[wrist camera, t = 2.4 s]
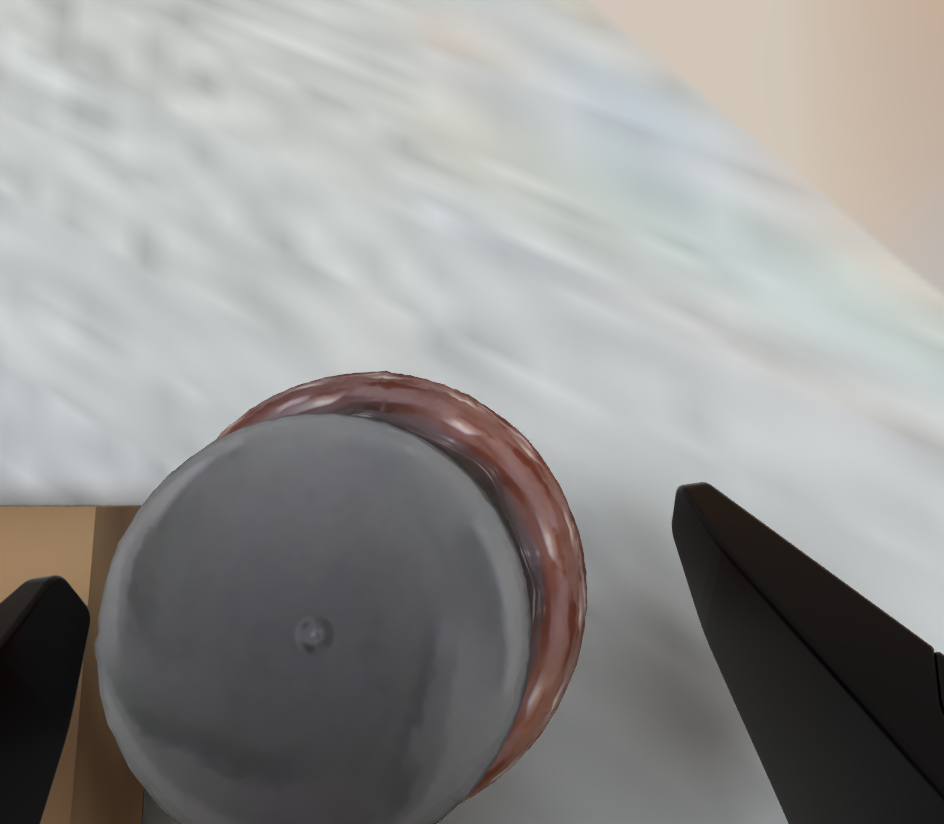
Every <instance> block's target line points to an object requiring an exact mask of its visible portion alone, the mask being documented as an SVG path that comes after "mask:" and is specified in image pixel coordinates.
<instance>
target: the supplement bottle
mask: <svg viewBox="0 0 944 824" xmlns="http://www.w3.org/2000/svg"><path fill="white" fill-rule="evenodd" d="M586 610H587V585H586V569H585V564H584V554H583V549H582V544H581V539H580V535H579V531H578V528H577V526H576V523H575V519H574V517H573V515H572V513H571V511H570V508H569V505H568V503H567V500H566V498H565V496H564V493H563V491H562V489H561V487H560V485H559V483H558V482H557V480H556V479H555V477H554V476H553V474H552V472H551V471H550V469H549V468H548V466H547V465H546V463H545V462H544V460H543V458H542V457H541V456H540V454H539V453H538V452H537V450H536V449H535V448H534V447H533V446H532V444H531V443H530V442H529V440H528V439H527V438H526V437H524V436H523V435H522V434H521V433H520V432H519V431H518V430H517V429H516V428H515V427H513V426H512V425H511V424H510V423H509V422H508V421H507V420H505V419H504V418H502V417H501V416H499V415H498V414H496V413H495V412H494V411H492V410H491V409H489V408H488V407H487V406H485V405H483V404H481V403H480V402H478V401H477V400H476V399H475V398H473V397H471V396H470V395H467V394H464V393H462V392H460V391H458V390H456V389H452V388H450V387H448V386H446V385H444V384H440V383H436V382H432V381H429V380H427V379H423V378H418V377H414V376H411V375H403V374H396V373H390V372H388V371H381V372H367V373H353V374H343V375H337V376H331V377H325V378H322V379H319V380H315V381H311V382H308V383H304V384H301V385H298V386H295V387H292V388H290V389H288V390H286V391H284V392H281V393H279V394H276V395H274V396H272V397H270V398H269V399H267V400H265V401H263V402H261V403H260V404H259V405H257V406H256V407H254V408H252V409H250V410H249V411H248V412H247V413H245V414H244V415H243V416H242V417H241V418H239V419H238V420H237V421H236V422H234V423H233V424H231V425H229V426H228V427H227V428H226V429H225V430H224V431H223V432H222V433H221V434H220V435H219V437H218V438H217V439H216V440H215V441H214V442H212V443H211V444H209V445H208V446H206V447H205V448H204V449H202V450H201V451H199V452H198V453H196V454H195V455H193V456H192V457H190V458H189V459H188V460H187V461H185V462H184V463H183V464H182V465H181V466H180V467H178V468H177V469H176V470H175V471H173V472H171V473H170V474H169V475H168V476H167V477H166V478H165V479H164V480H163V482H162V483H161V484H160V485H159V486H158V487H157V488H156V489H155V490H154V491H153V492H152V494H151V495H150V496H149V498H148V499H147V500H146V502H145V503H144V504H143V505H142V506H141V508H140V509H139V510H138V511H137V513H136V515H135V517H134V519H133V520H132V522H131V524H130V525H129V527H128V529H127V530H126V532H125V533H124V535H123V537H122V538H121V540H120V541H119V542H118V544H117V548H116V551H115V554H114V556H113V558H112V561H111V564H110V568H109V572H108V575H107V577H106V580H105V585H104V590H103V596H102V601H101V606H100V612H99V617H98V635H97V637H96V640H95V642H94V651H95V656H96V659H97V663H98V678H99V690H100V696H101V700H102V704H103V708H104V712H105V716H106V720H107V724H108V726H109V728H110V730H111V731H112V733H113V735H114V736H115V738H116V741H117V744H118V746H119V749H120V751H121V753H122V755H123V757H124V759H125V761H126V763H127V765H128V767H129V769H130V770H131V772H132V773H133V774H134V776H135V777H136V778H137V779H138V781H139V782H140V783H141V784H142V786H143V787H144V788H145V789H146V791H147V792H148V793H149V795H150V796H151V798H152V799H153V800H154V801H155V803H156V804H157V805H158V806H159V807H160V808H161V810H162V811H163V812H165V813H166V814H167V815H169V816H170V817H171V818H173V819H174V820H175V821H177V822H178V823H180V824H437V823H438V822H439V821H441V820H442V819H443V818H444V817H445V816H446V815H447V814H449V813H450V812H451V811H452V810H453V809H454V808H455V807H456V806H457V805H458V804H460V803H461V802H463V801H465V800H467V799H468V798H470V797H472V796H474V795H475V794H477V793H478V792H480V791H481V790H483V789H484V788H486V787H487V786H489V785H490V784H492V783H493V782H494V781H496V780H497V779H498V778H499V777H500V776H501V775H503V774H504V773H505V772H506V771H507V770H509V769H510V768H511V767H512V766H513V765H514V764H515V763H516V762H517V761H518V760H519V759H520V758H521V757H522V756H523V754H524V753H525V752H526V751H527V750H528V749H529V748H530V747H531V746H532V744H533V743H534V742H535V741H536V740H537V738H538V737H539V736H540V735H541V733H542V732H543V730H544V728H545V727H546V725H547V724H548V722H549V721H550V719H551V717H552V716H553V714H554V713H555V711H556V710H557V708H558V706H559V704H560V701H561V699H562V697H563V695H564V693H565V690H566V688H567V686H568V684H569V681H570V679H571V676H572V674H573V672H574V669H575V667H576V664H577V660H578V656H579V652H580V648H581V643H582V637H583V632H584V627H585V615H586Z"/></svg>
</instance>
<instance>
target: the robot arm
mask: <svg viewBox="0 0 944 824" xmlns="http://www.w3.org/2000/svg"><path fill="white" fill-rule="evenodd" d="M672 533H673V538H674V541H675V544H676V547H677V550H678V554H679V557H680V560H681V563H682V566H683V569H684V573H685V576H686V579H687V582H688V585H689V588H690V591H691V595H692V598H693V601H694V604H695V607H696V610H697V614H698V617H699V620H700V623H701V626H702V628H703V631H704V634H705V636H706V639H707V641H708V644H709V646H710V649H711V651H712V653H713V655H714V657H715V660H716V662H717V664H718V666H719V669H720V671H721V673H722V675H723V678H724V680H725V682H726V684H727V687H728V689H729V691H730V693H731V695H732V698H733V700H734V702H735V704H736V707H737V709H738V711H739V713H740V716H741V718H742V720H743V722H744V724H745V727H746V729H747V731H748V733H749V736H750V738H751V740H752V742H753V745H754V747H755V749H756V751H757V754H758V756H759V758H760V760H761V762H762V765H763V767H764V769H765V771H766V774H767V776H768V778H769V780H770V783H771V785H772V787H773V789H774V792H775V794H776V796H777V798H778V800H779V803H780V805H781V807H782V809H783V812H784V814H785V816H786V818H787V821H788V823H789V824H944V655H943V654H942V653H940V652H935V653H934V649H933V647H932V646H931V645H929V644H928V643H926V642H925V641H924V640H922V639H921V638H920V637H918V636H917V635H916V634H914V633H913V632H911V631H910V630H909V629H907V628H906V627H905V626H903V625H902V624H900V623H899V622H898V621H896V620H895V619H894V618H892V617H891V616H890V615H888V614H887V613H885V612H884V611H883V610H881V609H880V608H879V607H877V606H876V605H874V604H873V603H872V602H870V601H869V600H868V599H866V598H865V597H864V596H862V595H861V594H859V593H858V592H857V591H855V590H854V589H853V588H851V587H850V586H848V585H847V584H846V583H844V582H843V581H842V580H840V579H839V578H838V577H836V576H835V575H833V574H832V573H831V572H829V571H828V570H827V569H825V568H824V567H822V566H821V565H820V564H818V563H817V562H816V561H814V560H813V559H812V558H810V557H809V556H807V555H806V554H805V553H803V552H802V551H801V550H799V549H798V548H796V547H795V546H794V545H792V544H791V543H790V542H788V541H787V540H786V539H784V538H783V537H781V536H780V535H779V534H777V533H776V532H775V531H773V530H772V529H770V528H769V527H768V526H766V525H765V524H764V523H762V522H761V521H760V520H758V519H757V518H755V517H754V516H753V515H751V514H750V513H749V512H747V511H746V510H744V509H743V508H742V507H740V506H739V505H738V504H736V503H735V502H734V501H732V500H731V499H729V498H728V497H727V496H725V495H724V494H723V493H721V492H720V491H718V490H717V489H716V488H714V487H713V486H712V485H710V484H708V483H705V482H700V483H693V484H686V485H681V486H679V487H678V489H677V491H676V496H675V504H674V511H673V518H672ZM89 628H90V612H89V609H88V607H87V605H86V604H85V603H84V602H83V600H82V599H81V598H80V597H79V595H78V594H77V593H76V592H75V590H74V589H73V588H72V587H71V585H70V584H69V583H68V582H67V580H66V579H65V578H63V577H61V576H59V575H52V576H45V577H38V578H32V579H30V580H27V581H26V582H24V583H23V584H22V585H20V586H19V587H18V588H17V589H16V590H15V591H13V592H12V593H11V594H10V595H9V596H8V597H7V598H5V599H4V600H3V601H2V602H1V603H0V824H40V823H41V819H42V816H43V813H44V810H45V806H46V803H47V800H48V797H49V793H50V790H51V787H52V784H53V780H54V777H55V774H56V771H57V767H58V764H59V761H60V757H61V754H62V751H63V748H64V744H65V741H66V737H67V734H68V730H69V727H70V722H71V718H72V714H73V709H74V704H75V699H76V694H77V689H78V684H79V679H80V674H81V669H82V664H83V659H84V653H85V648H86V643H87V638H88V633H89Z"/></svg>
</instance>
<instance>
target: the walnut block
mask: <svg viewBox="0 0 944 824" xmlns="http://www.w3.org/2000/svg"><path fill="white" fill-rule="evenodd" d="M140 508H141V506H0V603H1V602H2V601H3V600H4V599H5V598H7V597H8V596H9V595H10V594H11V593H12V592H13V591H15V590H16V589H17V588H18V587H19V586H20V585H22V584H23V583H24V582H26V581H27V580H30V579H32V578H38V577H45V576H52V575H59V576H61V577H63V578H65V579H66V580H67V582H68V583H69V584H70V585H71V587H72V588H73V589H74V590H75V592H76V593H77V594H78V595H79V597H80V598H81V599H82V600H83V602H84V603H85V604H86V605H87V607H88V609H89V612H90V628H89V633H88V638H87V643H86V648H85V653H84V659H83V664H82V669H81V674H80V679H79V684H78V689H77V694H76V699H75V704H74V709H73V714H72V718H71V722H70V727H69V730H68V734H67V737H66V741H65V744H64V748H63V751H62V754H61V757H60V761H59V764H58V767H57V771H56V774H55V777H54V780H53V784H52V787H51V790H50V793H49V797H48V800H47V803H46V806H45V810H44V813H43V816H42V819H41V823H40V824H142V809H143V794H144V787H143V786H142V784H141V783H140V782H139V781H138V779H137V778H136V777H135V776H134V774H133V773H132V772H131V770H130V769H129V767H128V765H127V763H126V761H125V759H124V757H123V755H122V753H121V751H120V749H119V746H118V744H117V741H116V738H115V736H114V735H113V733H112V731H111V730H110V728H109V726H108V724H107V720H106V716H105V712H104V708H103V704H102V700H101V696H100V690H99V678H98V663H97V659H96V656H95V651H94V642H95V640H96V637H97V635H98V617H99V612H100V606H101V601H102V596H103V590H104V585H105V580H106V577H107V575H108V572H109V568H110V564H111V561H112V558H113V556H114V554H115V551H116V548H117V544H118V542H119V541H120V540H121V538H122V537H123V535H124V533H125V532H126V530H127V529H128V527H129V525H130V524H131V522H132V520H133V519H134V517H135V515H136V513H137V511H138V510H139V509H140Z"/></svg>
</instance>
